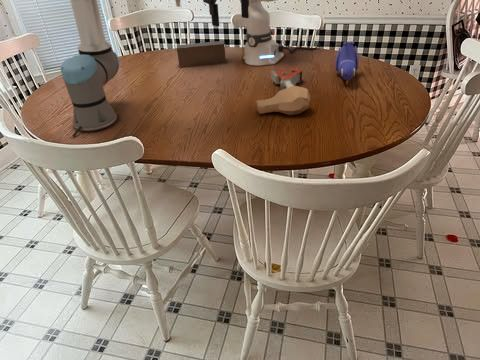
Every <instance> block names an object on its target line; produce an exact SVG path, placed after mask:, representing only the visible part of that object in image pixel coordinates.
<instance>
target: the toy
mask: <svg viewBox="0 0 480 360" xmlns="http://www.w3.org/2000/svg"><path fill="white" fill-rule="evenodd" d="M354 44H355V42H354V41H352V40H350V41H349V42H347V41H343V43H342V47H341V46H339V47H338V50H337V52H336V55H335V60H334V69H335V71H336V72H337V73H338V74H339V75H340V76H341V78H342V79H343V80H345V85H346V86H348V85H349V81H350V80H352V79H353V77H355V75H356V72H357V71H358V69H359V65H360V59H359V58H360V57H359V52H358V48H357V46H356V45H354Z"/></svg>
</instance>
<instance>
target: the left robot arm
mask: <svg viewBox="0 0 480 360" xmlns="http://www.w3.org/2000/svg"><path fill="white" fill-rule="evenodd" d="M69 1H70V4H71V9H72V13H73V17H74V20H75V25H76V28H77V32H78V37H79V40H80V41H79V42H80V43H79V45H78V46H77V51H78V54H77V55H73V56H72V57H68V58H66V59H64V61H62V63H61V64H60V72H61V77H62V80H63V82H64V84H65V87H66V90H67V93H68V96H69V99H70V101H71V104H72V108H73V114H72V117H73V118H72V119H73V125H74V128H75V129H76V131H75V132H74V133H73V134H72V137H73V138H74V137H76V135H78V133H79V132H84V133H92V132H99V131H102V130H105V129H107V128H110V127H111V126H113V125H115V124H116V122H117V121H118V116H117V114H116V111H115V110H114V108H113V107H112V105H111V103H110V102H109V101H108V99H107V96H106V92H105V89H104V86H105V85H106V84H108V83H109V82H110V81H111V80H113V79H114V78H115V76H116V75H117V74H118V72H119V69H120V60H119V57H118V54H117V52H116V51H114V50H113V49H112V44H111V43H110V42H108V41H107V39H106V35H105V30H104V25H103V22H102V16H101V12H100V11H101V10H100V7H99V2H98V0H69ZM217 1H218V0H202V2H203V3H205V4H207V5H208V9H209V15H210V16H211V26H213V27H220V17H219V15H220V14H219V4H218V3H217ZM248 7H249V0H241V2H240V11H241V13H240V14H241V18H243V19H246V18H249V13H248Z"/></svg>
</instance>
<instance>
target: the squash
mask: <svg viewBox="0 0 480 360" xmlns="http://www.w3.org/2000/svg"><path fill="white" fill-rule="evenodd" d="M311 98H312V97H311V95H310V90H309V89H307V88H306V87H302V86H298V85H294V86H292V87H289V88H287V89H280V90H279V91H277V92H276V94H275V95H274V96H272V97H271V98H265V99H257V100H256V102H255V103H256V107H257V109H256V110H257V113H258V114H259V115H263V114H266V113H273V112H275V113H282V114H284V115H287V116H295V115H300V114H301V113H303V112H305V111H306V110H308V109H309V107H310V102H311Z"/></svg>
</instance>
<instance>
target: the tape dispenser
mask: <svg viewBox="0 0 480 360" xmlns="http://www.w3.org/2000/svg"><path fill="white" fill-rule="evenodd" d="M290 71H291V72H290ZM286 72H290V73H288V74H286ZM270 75H271V77H270V78H271V82H274V84H275V85H280V86H279V87H280V90H283V89H287V88H289V87H292V86H297V84H300V83H301V82H302V81H303V80H302V79H303V70H302V69H301V68H300V67H292V68H287V69H280V70H271V71H270Z"/></svg>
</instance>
